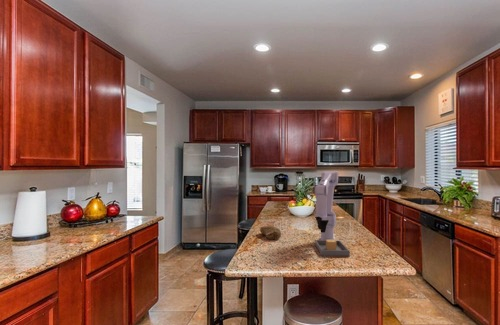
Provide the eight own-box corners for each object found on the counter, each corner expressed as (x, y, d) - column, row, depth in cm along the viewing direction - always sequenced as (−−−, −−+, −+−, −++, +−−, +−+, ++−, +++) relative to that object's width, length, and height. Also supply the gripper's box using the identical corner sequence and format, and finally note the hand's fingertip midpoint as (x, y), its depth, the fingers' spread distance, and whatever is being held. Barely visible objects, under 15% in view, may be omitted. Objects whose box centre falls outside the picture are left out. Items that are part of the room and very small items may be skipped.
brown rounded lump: (282, 242, 181) (279, 228, 200) (280, 230, 179) (277, 218, 199) (262, 246, 181) (260, 232, 201) (259, 234, 180) (258, 221, 199)
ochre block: (325, 248, 160) (325, 239, 160) (334, 248, 159) (334, 239, 159) (327, 250, 155) (327, 241, 155) (336, 250, 155) (336, 241, 155)
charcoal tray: (315, 245, 168) (315, 240, 168) (339, 245, 167) (339, 240, 167) (321, 256, 148) (321, 250, 148) (349, 256, 147) (349, 250, 147)
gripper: (312, 204, 171) (312, 228, 171) (316, 208, 157) (316, 233, 156) (324, 204, 171) (324, 228, 171) (329, 208, 156) (329, 233, 156)
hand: (321, 230), depth 163 cm, fingers open, 7 cm apart
